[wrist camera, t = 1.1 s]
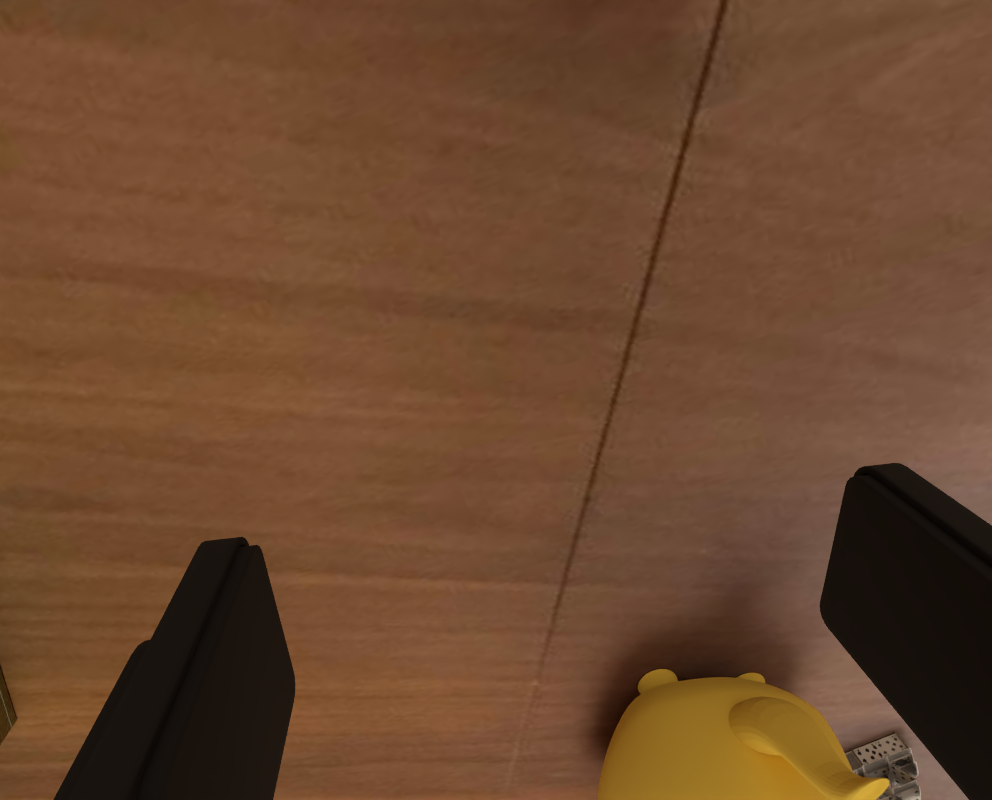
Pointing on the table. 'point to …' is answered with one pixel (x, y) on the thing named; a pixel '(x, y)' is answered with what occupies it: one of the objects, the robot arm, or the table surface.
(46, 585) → the table surface
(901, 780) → the house of cards
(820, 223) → the table surface
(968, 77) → the table surface
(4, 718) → the bin
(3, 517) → the table surface
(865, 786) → the teapot
